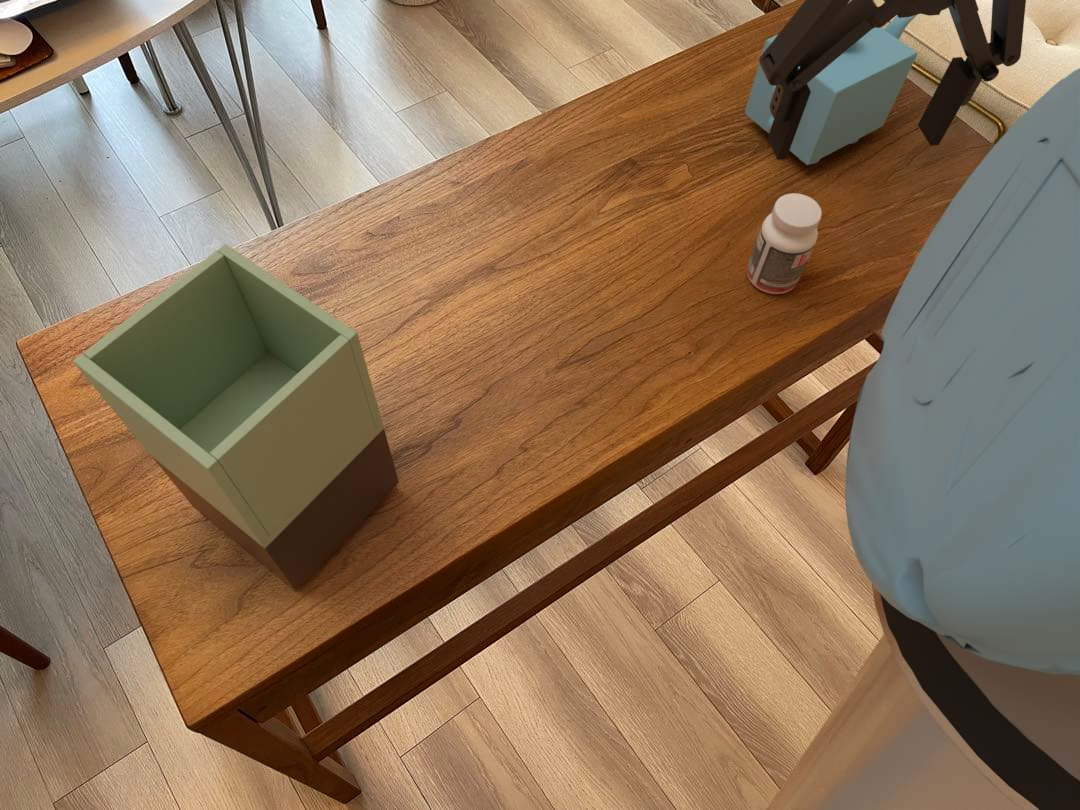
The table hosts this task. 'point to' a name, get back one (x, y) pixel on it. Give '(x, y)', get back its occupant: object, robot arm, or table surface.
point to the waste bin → (251, 410)
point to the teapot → (843, 93)
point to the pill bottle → (784, 244)
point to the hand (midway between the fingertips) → (853, 142)
